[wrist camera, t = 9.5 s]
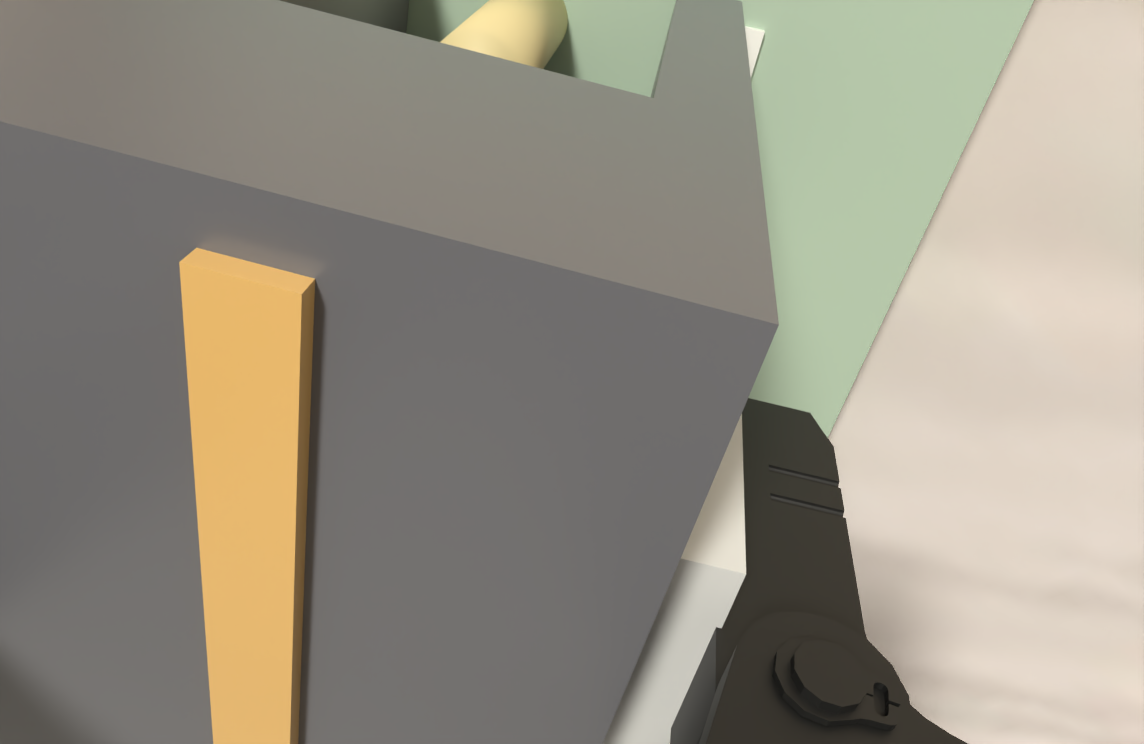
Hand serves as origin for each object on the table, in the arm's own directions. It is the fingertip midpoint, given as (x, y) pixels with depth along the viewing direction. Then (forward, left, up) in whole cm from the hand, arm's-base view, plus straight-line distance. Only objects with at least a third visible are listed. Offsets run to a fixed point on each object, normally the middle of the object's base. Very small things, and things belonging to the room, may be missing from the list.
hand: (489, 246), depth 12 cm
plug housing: (0, 0, -1) cm, 1 cm away
